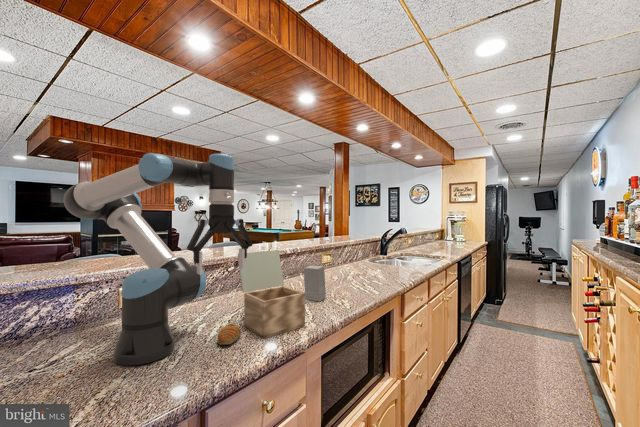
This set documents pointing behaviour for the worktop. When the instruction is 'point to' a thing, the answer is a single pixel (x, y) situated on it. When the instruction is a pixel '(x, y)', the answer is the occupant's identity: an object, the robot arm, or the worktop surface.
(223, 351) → the worktop surface
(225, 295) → the worktop surface
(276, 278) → the lid
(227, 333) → the pastry
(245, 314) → the box
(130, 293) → the robot arm
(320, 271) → the skincare box
